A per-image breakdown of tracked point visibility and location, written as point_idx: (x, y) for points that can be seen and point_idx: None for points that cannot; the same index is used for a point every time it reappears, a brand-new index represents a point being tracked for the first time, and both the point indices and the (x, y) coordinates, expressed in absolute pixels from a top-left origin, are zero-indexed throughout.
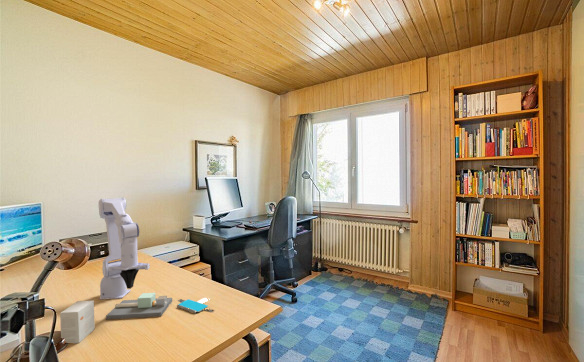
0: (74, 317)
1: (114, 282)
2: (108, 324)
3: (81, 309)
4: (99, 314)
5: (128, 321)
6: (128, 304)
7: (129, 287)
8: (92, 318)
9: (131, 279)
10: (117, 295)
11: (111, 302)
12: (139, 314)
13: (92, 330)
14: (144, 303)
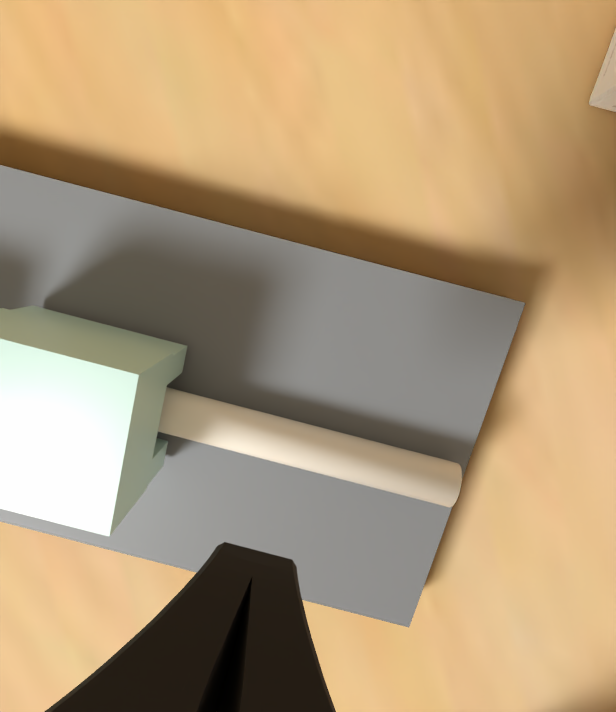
0: None
1: None
2: (458, 167)
3: None
4: (597, 447)
5: (257, 156)
6: (305, 435)
7: (237, 557)
8: None
9: (48, 709)
10: None
11: (526, 673)
12: (144, 203)
13: (604, 60)
14: (80, 330)
